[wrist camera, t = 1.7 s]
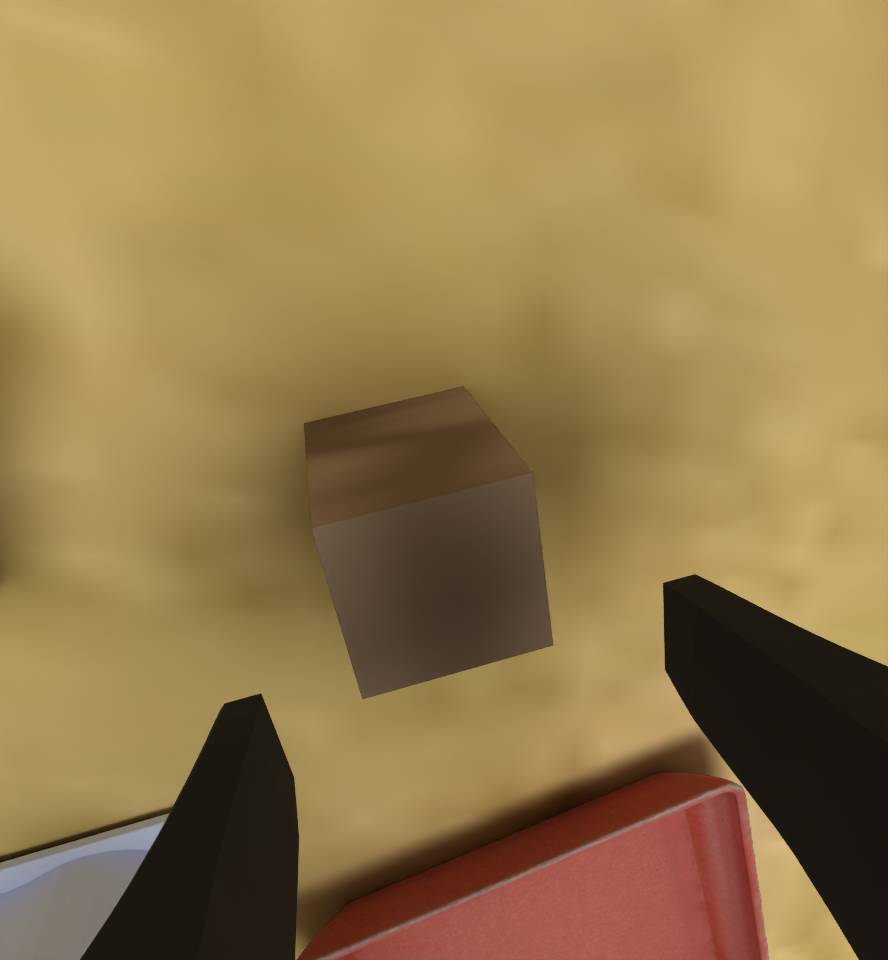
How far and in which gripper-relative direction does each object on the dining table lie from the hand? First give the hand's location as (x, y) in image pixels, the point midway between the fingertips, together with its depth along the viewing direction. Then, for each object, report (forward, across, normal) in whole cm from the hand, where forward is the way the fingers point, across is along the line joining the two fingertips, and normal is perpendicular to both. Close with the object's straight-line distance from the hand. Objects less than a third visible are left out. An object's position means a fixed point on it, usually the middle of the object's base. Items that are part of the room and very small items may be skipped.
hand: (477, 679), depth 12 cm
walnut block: (+9, 0, 0) cm, 9 cm away
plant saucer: (+9, -2, +24) cm, 26 cm away
